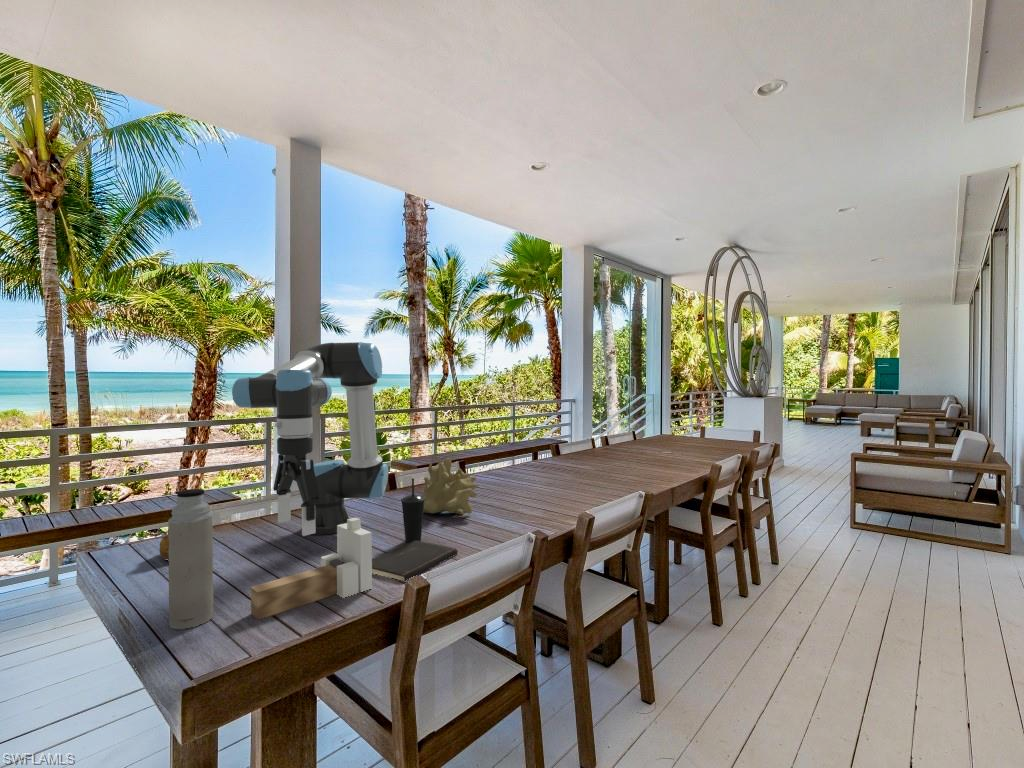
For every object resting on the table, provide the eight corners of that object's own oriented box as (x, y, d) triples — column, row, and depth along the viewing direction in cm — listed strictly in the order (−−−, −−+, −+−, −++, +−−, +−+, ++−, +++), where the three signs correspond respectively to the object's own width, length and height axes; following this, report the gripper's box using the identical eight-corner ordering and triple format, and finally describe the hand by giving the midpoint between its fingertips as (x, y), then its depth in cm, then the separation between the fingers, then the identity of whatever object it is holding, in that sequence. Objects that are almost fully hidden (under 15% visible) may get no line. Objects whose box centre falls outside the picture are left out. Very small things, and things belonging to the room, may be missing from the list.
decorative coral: (410, 476, 204) (455, 439, 199) (445, 513, 208) (490, 478, 203) (393, 506, 179) (444, 465, 174) (434, 547, 183) (485, 508, 178)
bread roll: (157, 553, 147) (157, 527, 147) (196, 547, 153) (195, 521, 153) (160, 566, 137) (160, 538, 137) (201, 558, 143) (201, 531, 143)
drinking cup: (420, 545, 153) (419, 481, 153) (397, 544, 155) (396, 480, 155) (429, 538, 161) (428, 476, 161) (407, 536, 162) (406, 475, 162)
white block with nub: (320, 584, 125) (320, 519, 125) (348, 575, 130) (347, 513, 130) (343, 599, 116) (342, 529, 116) (372, 589, 122) (371, 522, 122)
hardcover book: (359, 572, 133) (359, 564, 133) (415, 547, 154) (415, 540, 154) (405, 584, 126) (404, 575, 126) (457, 556, 146) (457, 548, 146)
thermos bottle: (160, 630, 102) (159, 495, 102) (183, 612, 110) (181, 486, 110) (201, 628, 103) (199, 494, 102) (220, 610, 111) (219, 486, 110)
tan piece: (257, 620, 106) (257, 587, 106) (251, 613, 109) (250, 582, 109) (344, 591, 121) (344, 562, 121) (337, 586, 124) (336, 558, 123)
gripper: (258, 433, 120) (259, 520, 120) (301, 442, 103) (302, 544, 103) (289, 430, 125) (290, 513, 126) (335, 439, 108) (337, 535, 108)
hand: (296, 527), depth 114 cm, fingers open, 13 cm apart
